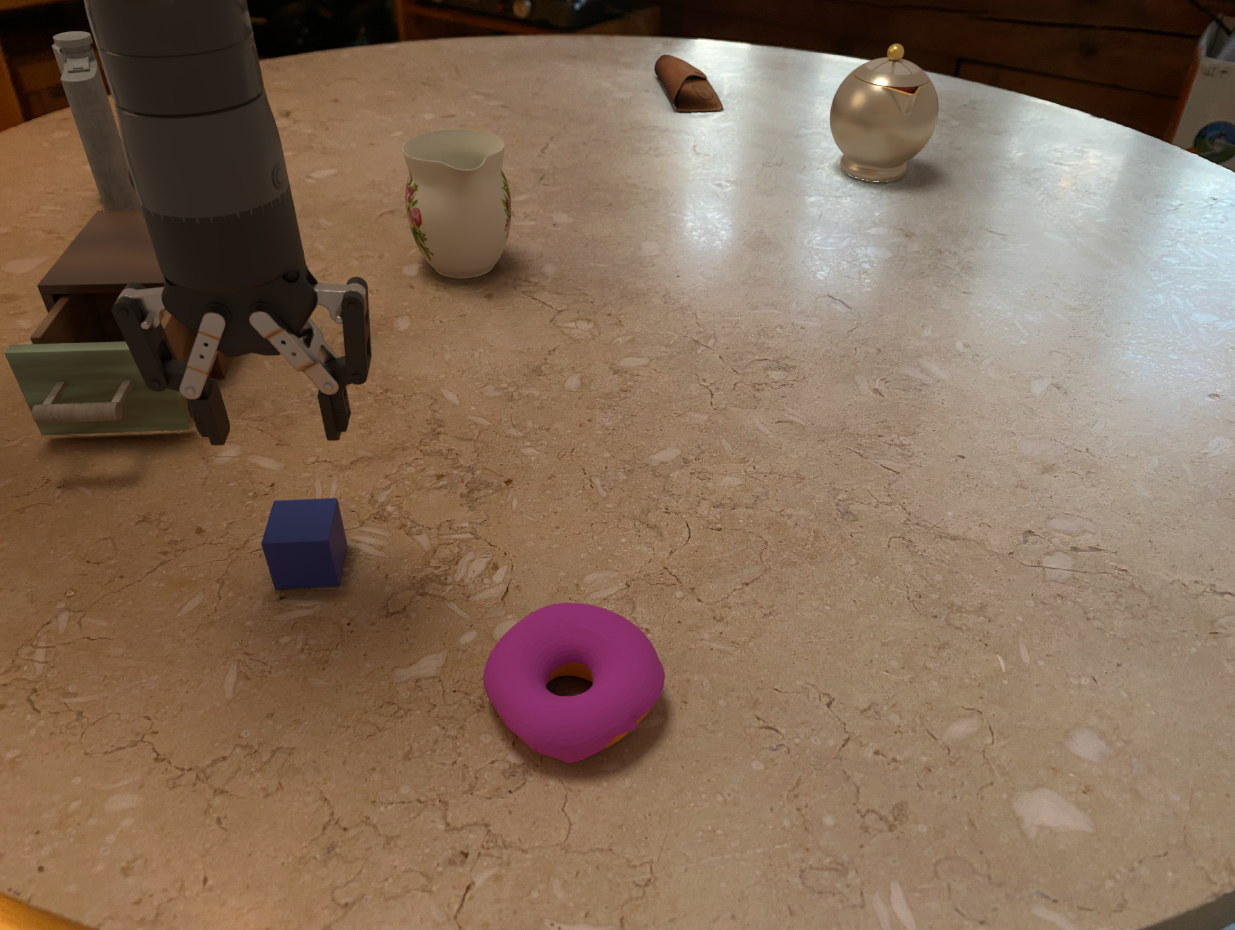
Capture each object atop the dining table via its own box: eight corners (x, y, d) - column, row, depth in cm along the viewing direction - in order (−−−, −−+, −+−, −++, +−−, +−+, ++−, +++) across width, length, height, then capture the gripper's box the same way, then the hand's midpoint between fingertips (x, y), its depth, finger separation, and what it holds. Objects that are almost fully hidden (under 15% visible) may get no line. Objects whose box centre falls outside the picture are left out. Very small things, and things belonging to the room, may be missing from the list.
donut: (462, 681, 59) (456, 633, 56) (595, 613, 64) (595, 565, 61) (550, 803, 53) (548, 756, 50) (690, 717, 58) (696, 669, 55)
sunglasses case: (727, 107, 144) (709, 69, 140) (687, 132, 146) (668, 95, 142) (702, 72, 158) (684, 36, 154) (666, 95, 160) (647, 60, 156)
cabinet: (224, 379, 85) (196, 281, 79) (76, 383, 84) (36, 285, 78) (257, 298, 96) (235, 208, 90) (128, 302, 95) (96, 210, 89)
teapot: (941, 192, 122) (974, 60, 112) (841, 196, 120) (865, 62, 110) (891, 142, 136) (916, 21, 126) (800, 145, 134) (818, 22, 124)
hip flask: (101, 192, 116) (42, 18, 103) (136, 186, 118) (83, 14, 105) (115, 244, 105) (52, 56, 93) (154, 237, 107) (97, 52, 94)
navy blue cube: (274, 589, 65) (260, 543, 62) (285, 545, 68) (273, 500, 66) (339, 586, 65) (328, 540, 63) (347, 542, 69) (337, 497, 66)
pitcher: (492, 221, 112) (484, 104, 103) (531, 291, 99) (526, 163, 90) (399, 232, 109) (383, 113, 101) (427, 306, 96) (412, 175, 87)
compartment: (173, 466, 74) (143, 382, 69) (18, 472, 73) (-24, 387, 68) (226, 343, 88) (205, 266, 83) (97, 347, 87) (68, 269, 82)
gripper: (361, 154, 53) (398, 398, 63) (94, 157, 51) (177, 405, 62) (343, 209, 47) (387, 468, 57) (42, 214, 46) (143, 478, 56)
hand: (278, 434), depth 60 cm, fingers open, 6 cm apart
